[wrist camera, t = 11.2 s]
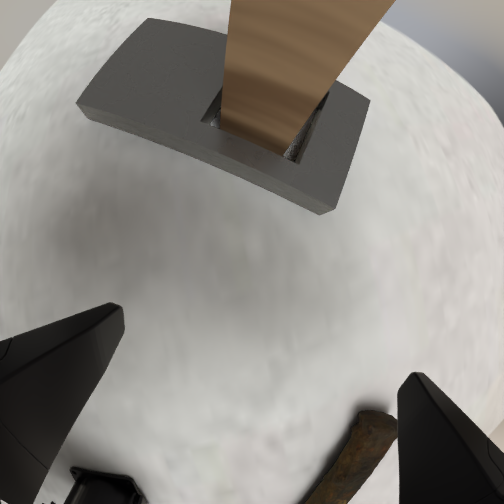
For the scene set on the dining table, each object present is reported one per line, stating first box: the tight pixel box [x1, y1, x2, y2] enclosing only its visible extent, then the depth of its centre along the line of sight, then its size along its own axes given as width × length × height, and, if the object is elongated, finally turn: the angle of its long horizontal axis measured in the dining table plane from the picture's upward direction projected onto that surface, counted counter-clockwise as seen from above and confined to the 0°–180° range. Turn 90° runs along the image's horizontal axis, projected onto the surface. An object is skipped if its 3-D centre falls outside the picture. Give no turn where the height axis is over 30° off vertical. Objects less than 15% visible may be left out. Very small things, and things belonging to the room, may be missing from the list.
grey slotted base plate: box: [76, 18, 370, 215], centre depth 16 cm, size 18×9×2 cm, turn 66°
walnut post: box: [220, 0, 395, 156], centre depth 10 cm, size 4×4×15 cm
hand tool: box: [305, 410, 398, 504], centre depth 15 cm, size 19×4×5 cm, turn 156°
